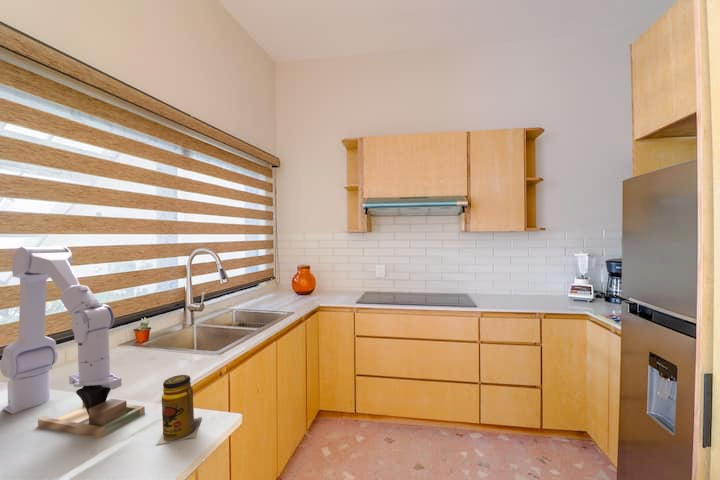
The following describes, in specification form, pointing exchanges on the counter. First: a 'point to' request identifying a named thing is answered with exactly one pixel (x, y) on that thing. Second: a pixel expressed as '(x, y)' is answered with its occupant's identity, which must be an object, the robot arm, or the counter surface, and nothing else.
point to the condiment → (178, 410)
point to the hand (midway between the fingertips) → (96, 415)
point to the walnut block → (107, 412)
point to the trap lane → (80, 422)
